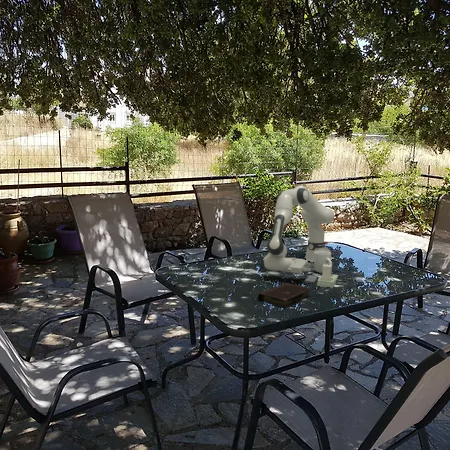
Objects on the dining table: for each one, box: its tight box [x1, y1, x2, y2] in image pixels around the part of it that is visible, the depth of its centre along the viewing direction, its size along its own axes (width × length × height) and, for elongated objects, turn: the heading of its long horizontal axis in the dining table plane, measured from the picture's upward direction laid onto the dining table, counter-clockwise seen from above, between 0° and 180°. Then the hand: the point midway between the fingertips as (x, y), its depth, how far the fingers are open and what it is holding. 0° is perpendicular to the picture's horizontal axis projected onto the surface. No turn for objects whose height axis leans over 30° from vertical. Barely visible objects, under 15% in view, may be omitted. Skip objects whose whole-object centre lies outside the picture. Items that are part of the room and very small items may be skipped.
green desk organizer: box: [316, 273, 339, 289], centre depth 270 cm, size 22×9×4 cm, turn 158°
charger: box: [321, 263, 333, 281], centre depth 263 cm, size 4×4×11 cm
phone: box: [303, 274, 319, 285], centre depth 273 cm, size 13×6×1 cm, turn 158°
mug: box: [313, 251, 333, 274], centre depth 289 cm, size 15×11×13 cm
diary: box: [257, 282, 312, 308], centre depth 240 cm, size 19×25×5 cm
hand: (312, 267), depth 266 cm, fingers open, 8 cm apart
